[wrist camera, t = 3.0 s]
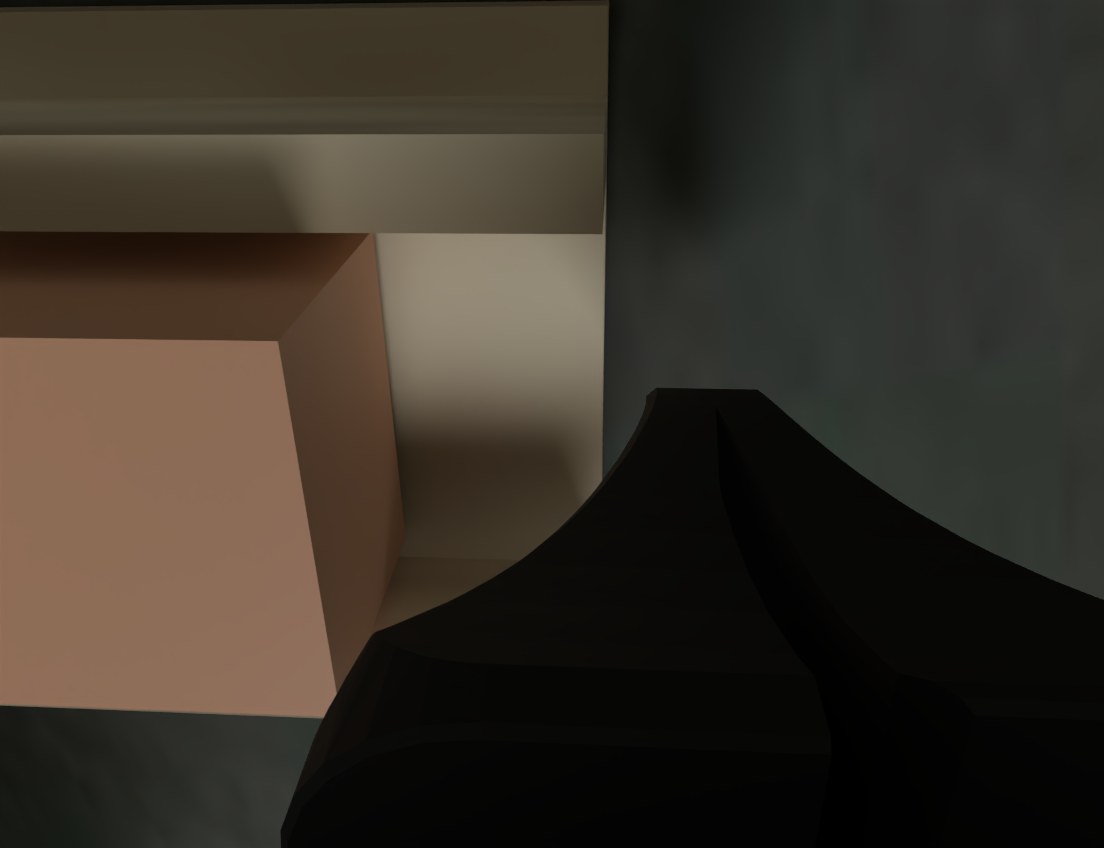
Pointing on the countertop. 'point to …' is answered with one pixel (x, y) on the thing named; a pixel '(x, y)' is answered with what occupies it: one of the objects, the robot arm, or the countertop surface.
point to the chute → (367, 215)
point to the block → (192, 468)
